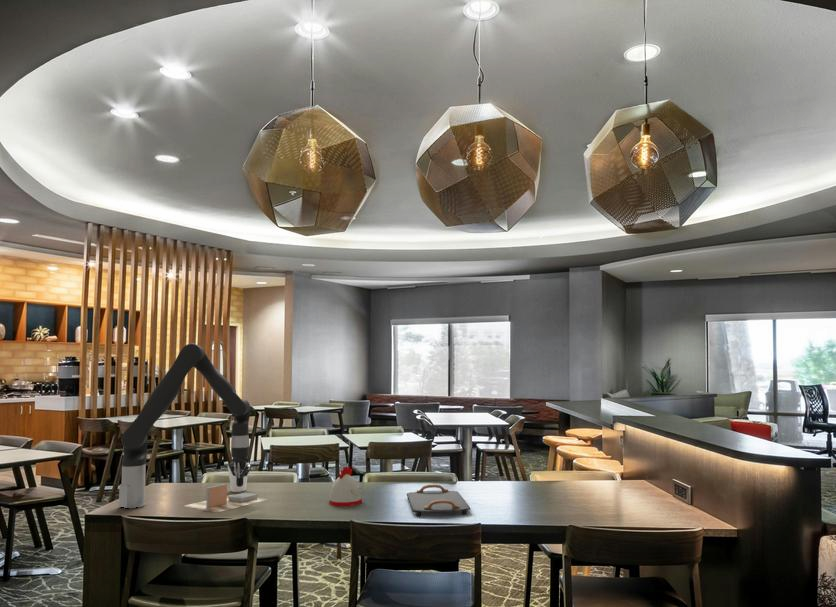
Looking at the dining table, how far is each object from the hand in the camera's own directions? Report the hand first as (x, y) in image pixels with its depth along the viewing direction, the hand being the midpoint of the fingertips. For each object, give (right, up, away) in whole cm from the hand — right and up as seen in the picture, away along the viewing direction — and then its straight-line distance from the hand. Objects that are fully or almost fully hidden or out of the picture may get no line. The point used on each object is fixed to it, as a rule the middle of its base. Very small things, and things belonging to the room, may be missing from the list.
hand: (239, 486), depth 277 cm
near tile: (-6, -5, -12) cm, 14 cm away
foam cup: (-6, -9, +19) cm, 22 cm away
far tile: (-2, -5, +1) cm, 5 cm away
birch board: (-4, -6, -6) cm, 10 cm away
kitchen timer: (+46, -6, -5) cm, 47 cm away
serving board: (+85, -5, -14) cm, 86 cm away
